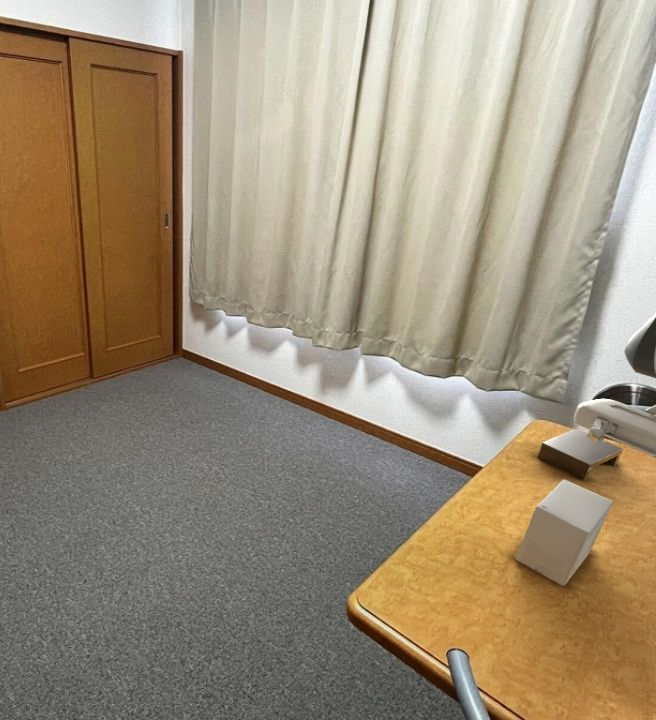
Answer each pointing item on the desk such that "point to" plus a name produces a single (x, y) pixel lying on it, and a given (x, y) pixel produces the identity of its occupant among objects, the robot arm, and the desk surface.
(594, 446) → the dark bridge stand
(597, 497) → the cosmetics box
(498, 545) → the desk surface
